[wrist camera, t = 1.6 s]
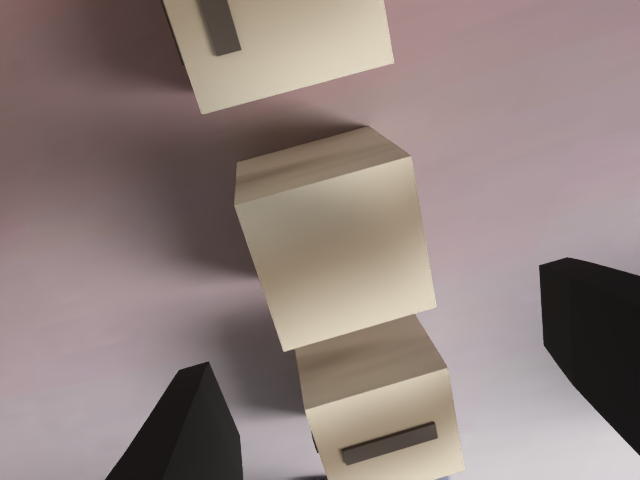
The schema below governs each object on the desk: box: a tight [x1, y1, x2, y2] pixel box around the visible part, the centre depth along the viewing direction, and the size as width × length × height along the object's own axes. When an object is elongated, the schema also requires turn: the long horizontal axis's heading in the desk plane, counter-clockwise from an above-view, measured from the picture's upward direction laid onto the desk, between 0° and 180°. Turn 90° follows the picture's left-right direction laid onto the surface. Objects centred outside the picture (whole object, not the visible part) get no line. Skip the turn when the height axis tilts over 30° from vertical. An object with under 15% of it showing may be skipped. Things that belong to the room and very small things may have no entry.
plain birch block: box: [234, 126, 436, 352], centre depth 16 cm, size 5×5×5 cm
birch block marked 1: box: [295, 314, 465, 480], centre depth 19 cm, size 5×5×5 cm
